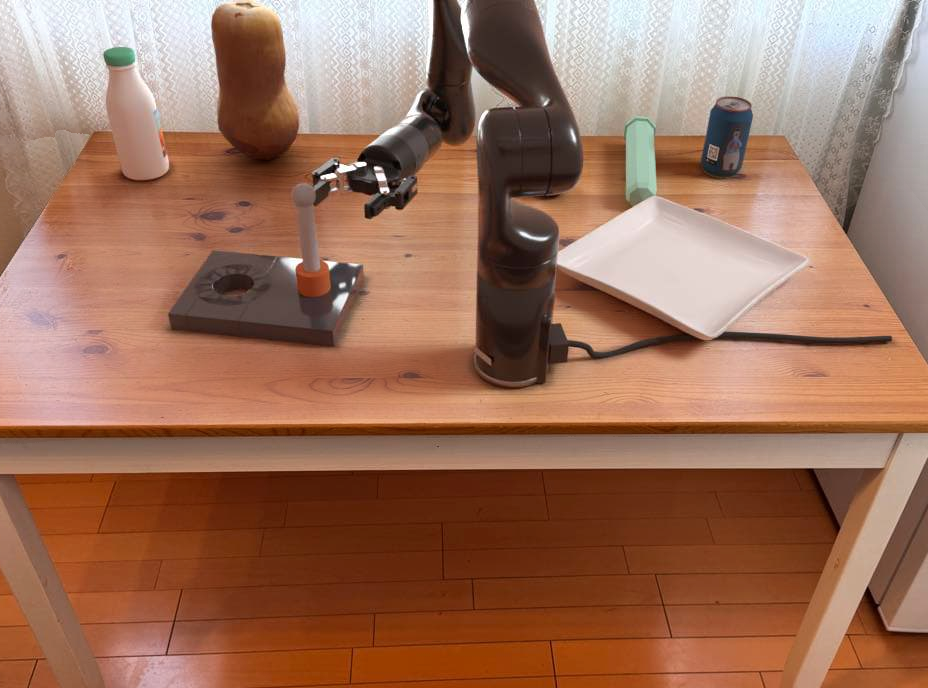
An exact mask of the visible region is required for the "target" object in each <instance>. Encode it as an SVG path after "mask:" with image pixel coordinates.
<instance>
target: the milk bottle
mask: <svg viewBox="0 0 928 688" xmlns="http://www.w3.org/2000/svg"><path fill="white" fill-rule="evenodd" d="M102 55H103V60H104V64H105V68H107V70H108V84H107V88H106V94H105V107H106V112H107V118H108V122H109V126H110V131H111V134H112V138H113V143H114V146H115V151H116V154H117V158H118V162H119V166H120V170H121V172H122V174H123V175H124V177H126V178H128V179H129V180H133V181H134V180H135V181H149V180H154V179H157V178H160V177H163V176H164V175H165V174H167V172H168V171H169V170H170V162H169V157H168V156H169V155H168V152H167V148H166V147H167V146H166V143H165V138H164V134H163V129H162V125H161V121H160V115H159V111H158V107H157V103H156V101H155V98H154V95H153V93H152V91H151V90H150V88H149V87H148V86H147V84H146V82H144V79H143V78H142V76H141V75H140V73H139V71H138V69H137V65H138V63H137V58H136V53H135V51H134V49H133V48H131V47H127V46H115V47H111V48H108V49H106V50H105V51H104V52H103V54H102Z"/></svg>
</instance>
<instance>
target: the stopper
mask: <svg viewBox="0 0 928 688" xmlns="http://www.w3.org/2000/svg"><path fill="white" fill-rule="evenodd" d="M312 187H313V186H312V185H310V184H309V183H306V182H300V183H298V184H296V185H294V187H293V188H292V190H291V194H290V195H291V200H292V202H293V203H294V204H295V211H296V217H297V218H296V219H297V225H298V235H299V243H300V251H301V259H303V262H301V263H299V264H298V265H297V266H296V269H295V271H296V279H297V286H298V291H299V293H300V294H302V295H304V296H307V297H319V296H322V295H325V294H326V293H328V292H329V291H330V288H331V284H330V274H329V266H328V264H327V263H326V262H324V261H325V260H321V259H320V251H319V243H318V233H317V232H318V231H317V225H316V215H315V206H314V205H313V203H314V201H315V198H316V194H315V191H314V189H313V188H312Z"/></svg>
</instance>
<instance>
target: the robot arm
mask: <svg viewBox="0 0 928 688" xmlns="http://www.w3.org/2000/svg"><path fill="white" fill-rule="evenodd" d="M427 4H428V5H427V7H428V8H427V9H428V41H427V42H428V43H427V51H426V52H427V53H426V62H425V70H424V71H425V72H424V80H425V84H426V87H427V88H423V89H421V90H420V91H418V92H417V94H416V95H415V97H414V98H413V101H412V102H411V105H410V108H409V110H408V112H407V114H406V115H405V117H404V118H403V119H402V120H401V121H400V122H398V123H397V124H396V125H395V126H392V127H390V128H389V129H387V130H385V131H384V132H383V133H382V134H380V136H378V137H377V138H376V139H375V140H373V141H372V142H371V143H369V144H368V145H367V146H366V147H364V148H363V149H362V150H361V151H360V153H359V156H358V158H357V159H356V161H354V162H351V163H348V164H347V165H345V164H341V161H340V160H341V159H340V158H338V157H333V158H331V159H329V160H328V161H326V162H325V163H323V164H322V165H321V166H319V167H318V168H317V169H315V170H313V171H312V172H311V177H312V186H311V187H312V188H313V189H314V191H315V194H316V198H315V201H314V203H313V205H314V207H317V206H318V205H319V204H321V203H322V202H323V201H324V200H325V199H327V198H328V197H329V196H330V195H333V194H334V195H335V194H339V195H341V196H344V195H348V194H351V193H358V194H359V193H360V194H364V195H365V196H371V197H370V199H369V200H368V201H366V202H365V203H364V206H363V210H364V211H363V212H364V219H367V220H372V219H373V218H376V217H378V216H379V215H380V214H382V213H383V211H384V210H389V209H391V207H394V209H395V210H397V211H402V210H404V209H405V208H406V207H407V206H408V205H409V204H410V202H411V201H412V200H413V199H414V198H415V197H416V195H418V176H417V174H418V173H419V172H420V171H421V170H422V169H423V166H425V164H426V163H428V161H430V160H431V158H433V157H434V156H435V155H436V154H437V153H438V152H439V150H440V149H441V148H442V145H443V143H444V144H446V145H448V146H451V147H459V146H462V145H464V144H465V143H467V142H468V141H469V140H470V139H471V137H472V135H473V133H474V131H475V126H476V119H477V116H476V115H477V114H476V113H477V112H476V104H475V99H474V93H473V85H472V74H473V68H474V70H475V71H476V72H477V73H478V75H479V76H481V78H482V79H483V80H485V81H486V82H487V83H488V85H490V86H492V87H493V88H494V89H496V90H497V91H498V92H500V93H501V94H502V95H504V96H505V97H506V98H508V99H510V100H511V101H513V102H514V104H516V105H517V106H504V107H503V106H502V107H501V106H500V107H492V108H488V109H486V110H485V111H483V112H482V114H481V116H480V118H479V120H478V125H477V129H476V140H475V141H476V170H477V171H476V172H477V246H476V247H477V252H476V254H477V255H476V295H475V296H476V297H475V298H476V299H475V300H476V302H475V306H476V307H475V345H473V353H474V357H473V358H474V359H473V364H474V369H475V371H476V373H477V374H478V375H479V376H480V378H481V379H483V380H485V381H486V382H488V383H490V384H492V385H494V386H498V387H502V388H508V389H509V388H510V389H511V388H514V389H516V388H524V387H528V386H531V385H532V386H533V385H534V384H545V383H547V378H548V372H549V368H550V365H552V364H553V365H554V364H565V363H568V359H569V358H568V357H569V349H570V348H577V349H582V350H584V351H586V353H587V355H588V356H589V357H591V358H592V359H593V358H594V359H608V358H613V357H616V356H620V355H624V354H626V353H629V352H632V351H634V350H638V349H640V348H643V347H647V346H653V345H658V344H659V345H660V344H664V343H671V342H678V341H685V340H686V341H687V340H697V339H698V340H699V339H700V338H697V337H695V336H692V335H690V334H688V333H686V332H685V333H677V334H672V335H665V336H658V337H653V338H648V339H643V340H639V341H636V342H633V343H631V344H628V345H625V346H623V347H620V348H616V349H615V350H611V351H595V350H594V349H593V347H592V346H591V345H590V344H588V343H586V342H583V341H578V340H570V339H568V337H567V335H566V333H565V330H564V327H563V325H562V323H561V322H556V323H554V313H555V302H556V293H555V290H556V278H557V269H558V268H557V257H558V251H559V245H560V228H559V225H558V223H557V221H556V219H554V218H553V217H552V216H551V215H550V214H548V213H547V212H545V211H543V210H542V209H539V208H536V207H533V206H531V205H527V204H524V203H521V202H519V201H516V200H514V199H512V198H526V197H543V196H557V195H556V194H558V195H561V194H565V193H568V192H570V191H572V190H573V189H574V188H575V187H576V186H577V185H578V183H579V182H580V181H581V178H582V175H583V170H584V169H583V168H584V148H583V147H584V146H583V142H582V137H581V132H580V128H579V124H578V122H577V119H576V115H575V114H574V111H573V108H572V106H571V104H570V102H569V99H568V97H567V95H566V93H565V90H564V88H563V86H562V84H561V82H560V79H559V77H558V75H557V73H556V70H555V68H554V64H553V61H552V59H551V55H550V51H549V48H548V45H547V40H546V36H545V32H544V28H543V24H542V20H541V17H540V15H539V10H538V7H537V5H536V2H535V0H464V1H463V4H462V7H461V5H460V3H459V1H458V0H427ZM345 176H346V181H347V186H345ZM334 181H335V185H333V186H331V183H333V182H334ZM560 193H561V194H560ZM723 338H724V339H746V340H747V339H749V340H766V341H767V340H768V341H783V342H796V343H797V342H798V343H810V344H830V345H831V344H835V345H836V344H837V345H839V344H840V345H841V344H844V345H845V344H869V343H870V344H871V343H891V342H892V340H893V336H892V335H874V336H873V335H871V336H852V337H851V336H849V337H848V336H846V337H845V336H843V337H841V336H840V337H836V336H835V337H834V336H833V337H832V336H831V337H830V336H829V337H828V336H810V335H809V336H808V335H798V334H797V335H796V334H783V333H769V332H768V333H767V332H766V333H765V332H762V333H761V332H749V331H747V332H745V331H725V332H723V333H722V334H721V335H719V336H718V337H716V338H715V339H723ZM700 340H701V339H700Z"/></svg>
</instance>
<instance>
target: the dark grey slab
mask: <svg viewBox="0 0 928 688" xmlns="http://www.w3.org/2000/svg"><path fill="white" fill-rule="evenodd" d="M323 261H324V262H326V263H327V264H328V266H329V274H330V284H331V288H330V291H329V292H328V293H326V294H325V295H322V296H319V297H307V296H304V295H302V294H300V293H299V291H298V286H297V279H296V271H295V269H296V266H297V265H298V264H299V263H301V262H303V259H302V258H297V257H287V256H277V255H268V254H257V253H249V252H248V253H247V252H239V251H237V252H236V251H228V250H227V251H226V250H216V249H212V250H211V251H210V253H209V255H208V256H207V258H206V259H205V261H204V262H203V263H202V264H201V266H200V267H199V268H198V270H197V271H196V273H195V274H194V276H193V277H192V279H191V280H190V281H189V282H188V284H187V286H186V287H185V288H184V290H183V291H182V293H181V294H180V295H179V297H178V298H177V300H176V301H175V303H174V304H173V305H172V307H171V308H170V310H169V311H168V312H167V316H168V321H169V324H170V329H171V330H177V331H178V330H179V331H187V332H195V333H205V334H215V335H223V336H224V335H225V336H234V337H244V338H251V339H252V338H254V339H263V340H271V341H280V342H281V341H282V342H290V343H299V344H310V345H318V346H327V347H335V346H336V344H337V342H338V339H339V336H340V335H341V332H342V330H343V328H344V325H345V323H346V321H347V319H348V317H349V314H350V312H351V310H352V308H353V306H354V302H355V301H356V298H357V296H358V294H359V292H360V289H361V287H362V285H363V283H364V280H365V273H364V264H361V263H350V262H342V261H341V262H340V261H330V260H329V261H328V260H323ZM239 289H240V290H241V289H242V290H248V291H246V292H242V293H240V294H236V295H225V294H224V293H225V292H228V291H230V290H239Z"/></svg>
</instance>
